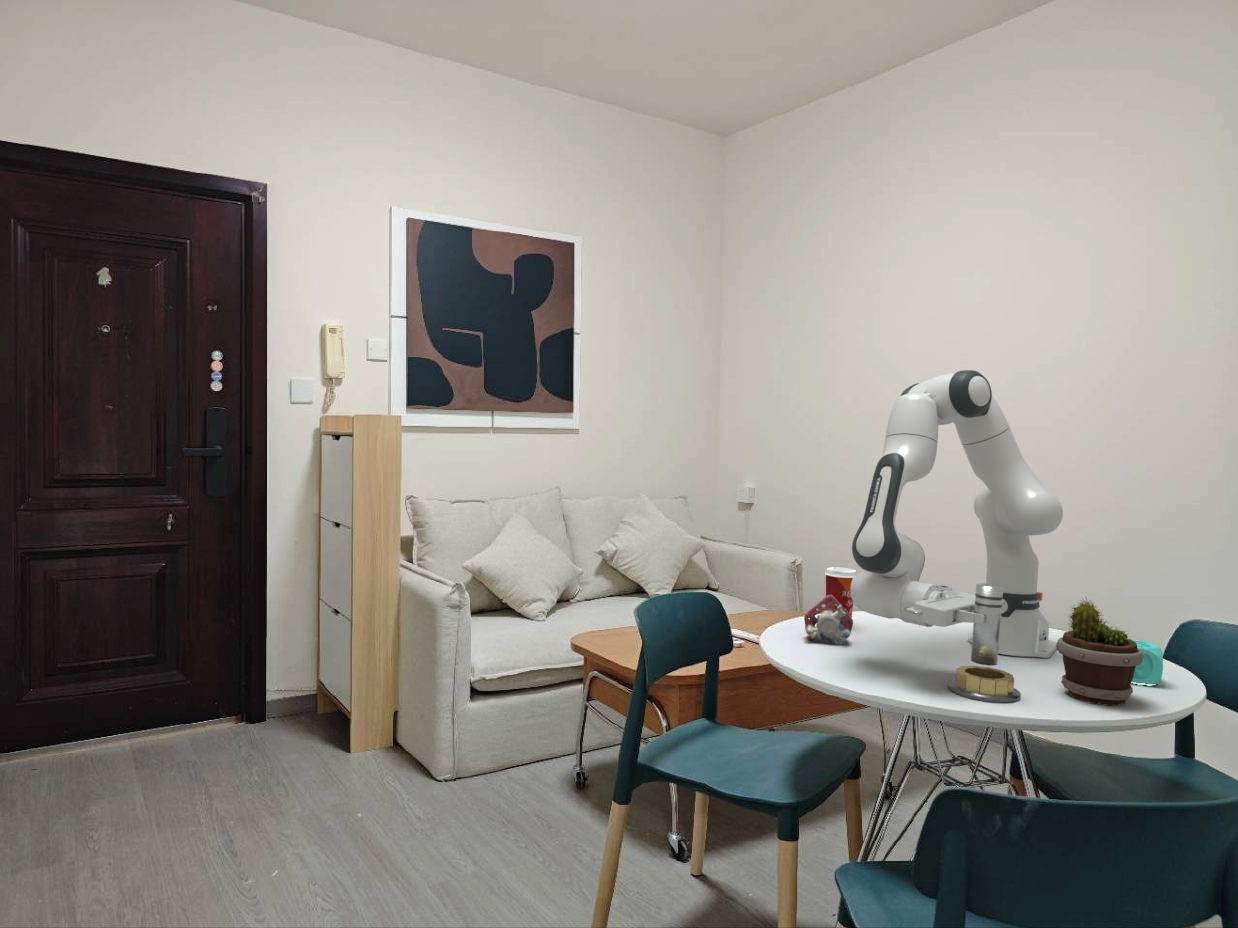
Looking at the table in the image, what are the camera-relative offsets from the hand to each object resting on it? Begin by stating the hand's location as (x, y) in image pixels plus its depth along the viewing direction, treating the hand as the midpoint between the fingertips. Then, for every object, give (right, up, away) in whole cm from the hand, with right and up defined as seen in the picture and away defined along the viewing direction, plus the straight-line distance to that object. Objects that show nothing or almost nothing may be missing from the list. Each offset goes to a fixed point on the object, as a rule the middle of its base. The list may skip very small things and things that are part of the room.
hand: (991, 617), depth 166 cm
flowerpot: (+21, -16, +1) cm, 26 cm away
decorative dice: (+37, -16, +15) cm, 43 cm away
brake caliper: (-23, -13, +38) cm, 46 cm away
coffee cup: (-16, -12, +53) cm, 56 cm away
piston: (-1, -9, +1) cm, 9 cm away
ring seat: (-1, -15, +1) cm, 15 cm away
